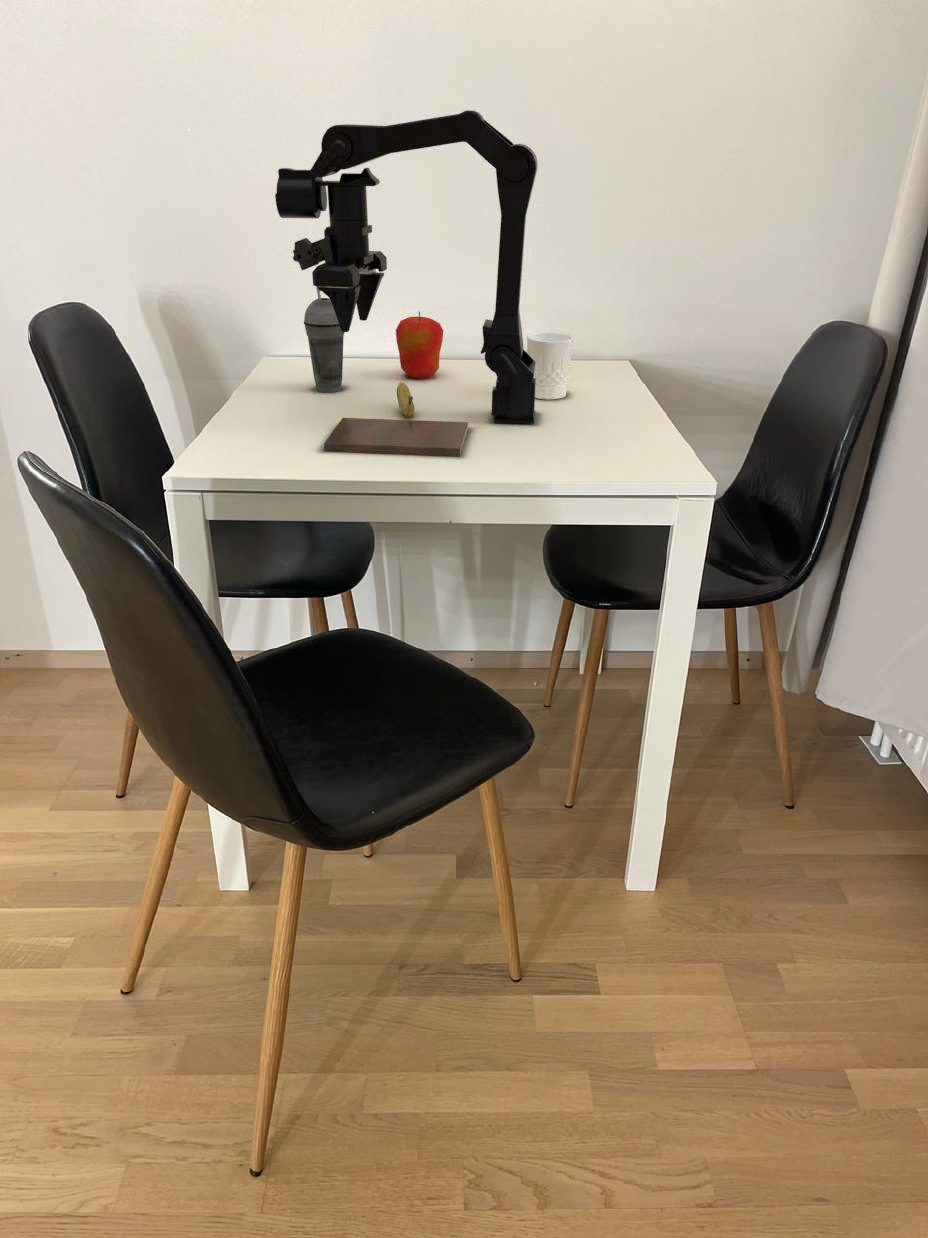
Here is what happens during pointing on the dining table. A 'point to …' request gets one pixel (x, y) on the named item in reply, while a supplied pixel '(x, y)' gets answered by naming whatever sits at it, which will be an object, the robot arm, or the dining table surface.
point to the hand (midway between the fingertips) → (354, 325)
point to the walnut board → (398, 437)
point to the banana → (405, 399)
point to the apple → (419, 346)
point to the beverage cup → (324, 344)
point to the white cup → (550, 363)
